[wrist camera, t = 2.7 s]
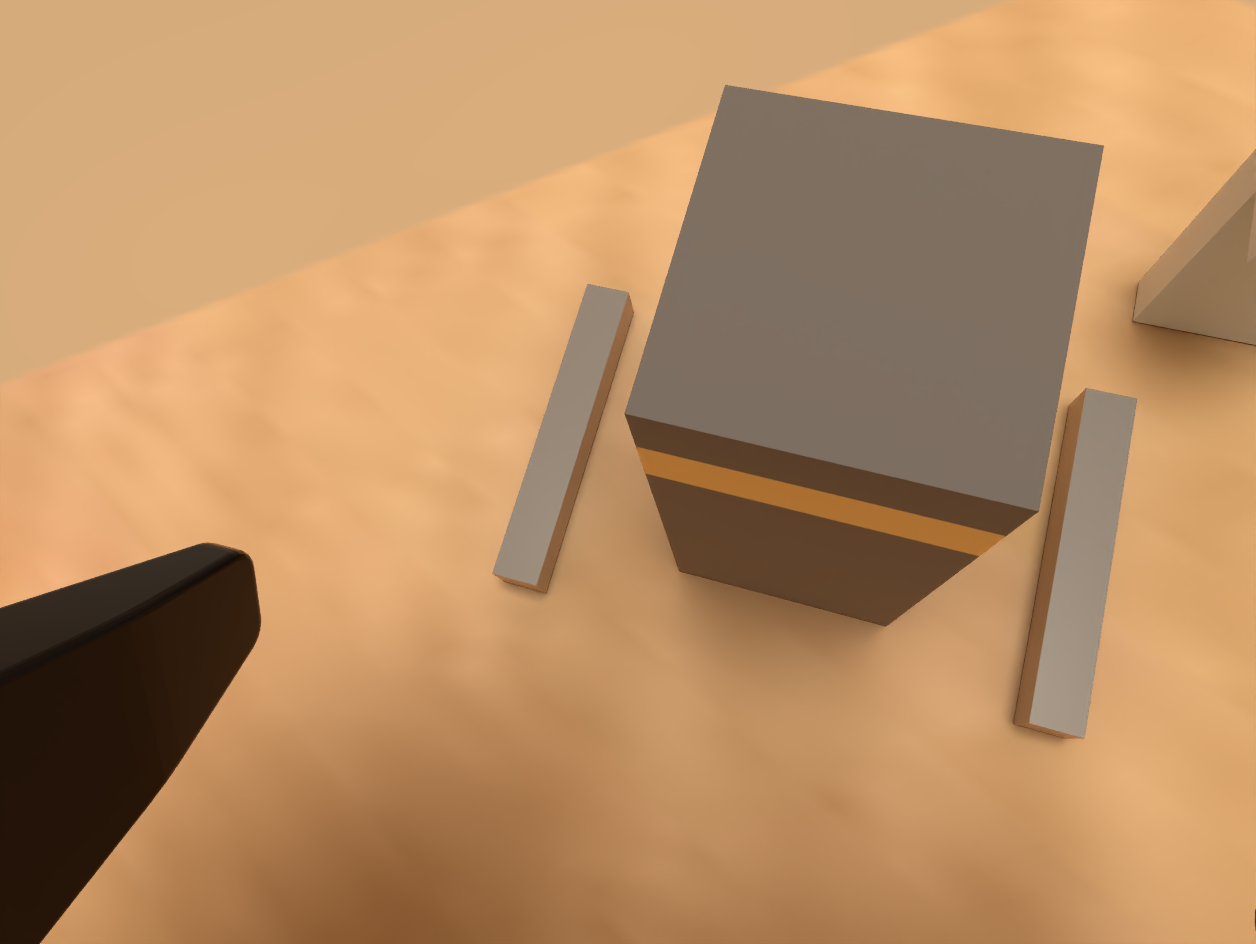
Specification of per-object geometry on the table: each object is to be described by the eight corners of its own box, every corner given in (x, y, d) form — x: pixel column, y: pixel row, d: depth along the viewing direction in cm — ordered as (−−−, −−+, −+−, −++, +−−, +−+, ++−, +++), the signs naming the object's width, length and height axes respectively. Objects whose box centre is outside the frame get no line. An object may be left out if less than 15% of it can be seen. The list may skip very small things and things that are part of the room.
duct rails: (1721, 922, 16) (2284, 1028, 10) (504, 581, 20) (410, 519, 14) (1712, 388, 18) (2159, 229, 12) (631, 187, 22) (595, 0, 17)
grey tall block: (886, 626, 19) (1039, 510, 9) (679, 571, 20) (624, 413, 10) (928, 429, 20) (1103, 145, 10) (730, 385, 21) (724, 85, 11)
